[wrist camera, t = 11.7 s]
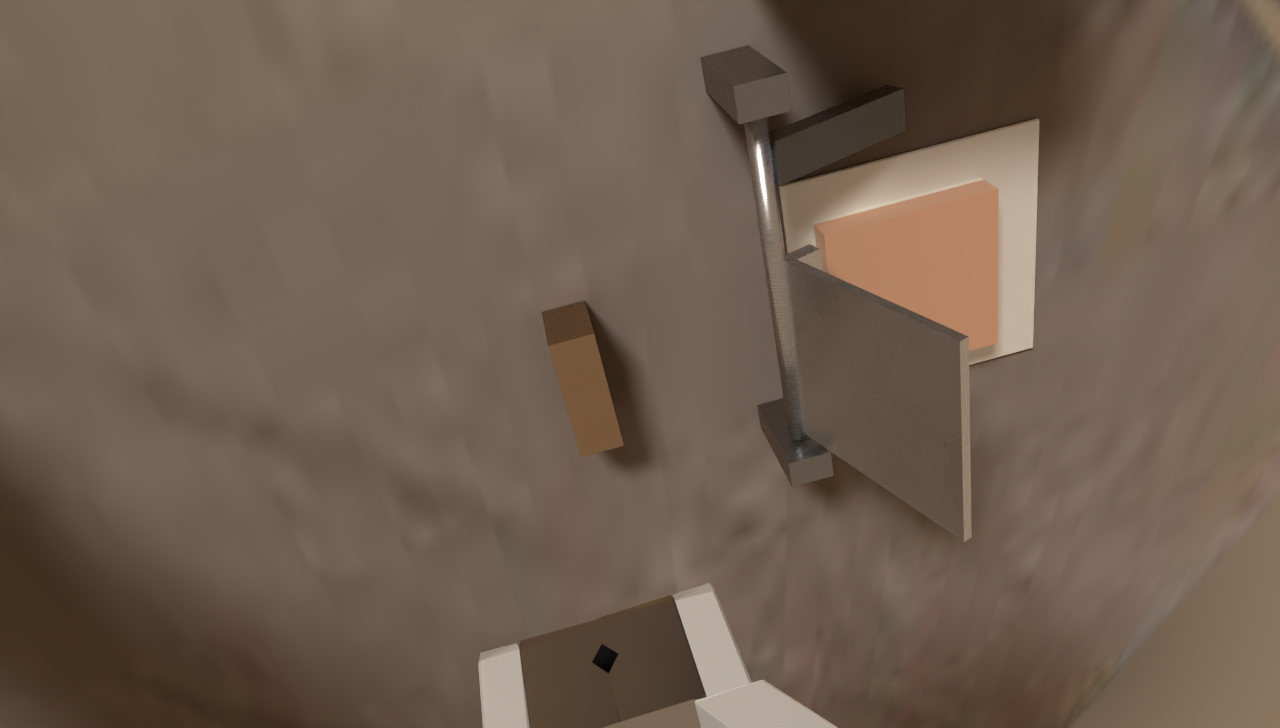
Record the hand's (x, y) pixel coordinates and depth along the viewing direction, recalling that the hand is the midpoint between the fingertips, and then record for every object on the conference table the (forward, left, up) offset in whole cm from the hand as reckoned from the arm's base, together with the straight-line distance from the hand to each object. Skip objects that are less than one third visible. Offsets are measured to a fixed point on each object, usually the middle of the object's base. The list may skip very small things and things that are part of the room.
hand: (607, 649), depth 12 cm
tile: (+16, -13, -27) cm, 34 cm away
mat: (+17, -13, -29) cm, 36 cm away
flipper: (+10, -10, -21) cm, 25 cm away
